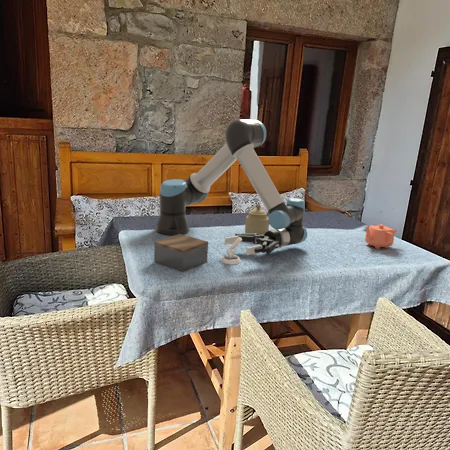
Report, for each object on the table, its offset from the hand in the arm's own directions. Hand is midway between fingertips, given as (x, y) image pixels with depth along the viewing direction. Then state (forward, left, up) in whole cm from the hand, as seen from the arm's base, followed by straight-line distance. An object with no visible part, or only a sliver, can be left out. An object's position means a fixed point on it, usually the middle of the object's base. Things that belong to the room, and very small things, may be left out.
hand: (235, 246), depth 161 cm
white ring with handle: (-1, -1, -6) cm, 6 cm away
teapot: (+37, +61, -6) cm, 71 cm away
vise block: (-14, -15, -6) cm, 22 cm away
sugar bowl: (-14, +37, -6) cm, 40 cm away
